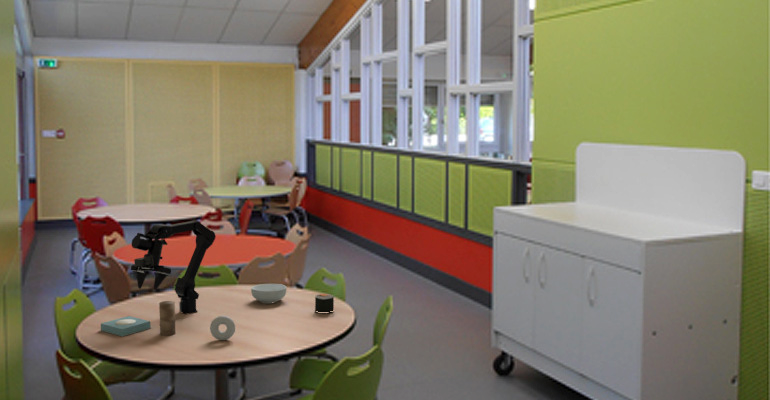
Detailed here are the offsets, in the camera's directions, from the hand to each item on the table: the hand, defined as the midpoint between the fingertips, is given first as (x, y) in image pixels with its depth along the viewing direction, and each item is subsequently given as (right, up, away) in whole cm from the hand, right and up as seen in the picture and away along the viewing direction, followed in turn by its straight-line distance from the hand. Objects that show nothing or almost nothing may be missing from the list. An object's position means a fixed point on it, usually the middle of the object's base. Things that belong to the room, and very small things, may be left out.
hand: (147, 289), depth 311 cm
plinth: (-7, -16, -7) cm, 19 cm away
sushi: (+74, -13, +23) cm, 79 cm away
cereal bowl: (+46, -11, +41) cm, 62 cm away
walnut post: (+13, -17, -12) cm, 24 cm away
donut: (+37, -18, -20) cm, 46 cm away
